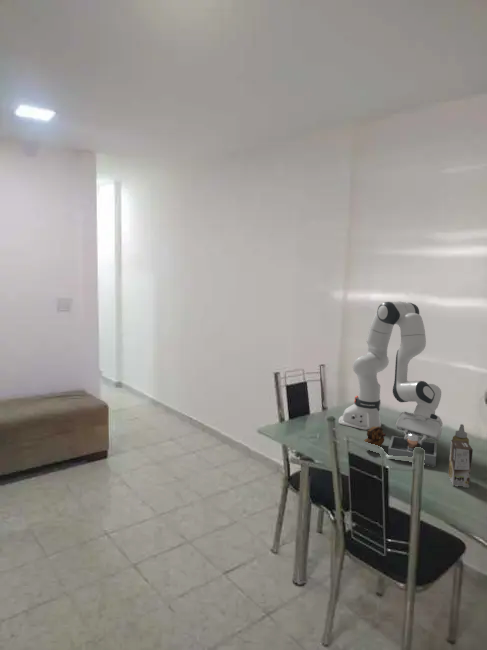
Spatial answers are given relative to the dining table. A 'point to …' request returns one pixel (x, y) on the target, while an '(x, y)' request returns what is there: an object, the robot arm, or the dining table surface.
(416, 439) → the grey capped jar
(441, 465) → the dining table surface
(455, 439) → the squeeze bottle
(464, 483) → the coffee box
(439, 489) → the dining table surface
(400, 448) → the box
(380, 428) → the wooden carving
